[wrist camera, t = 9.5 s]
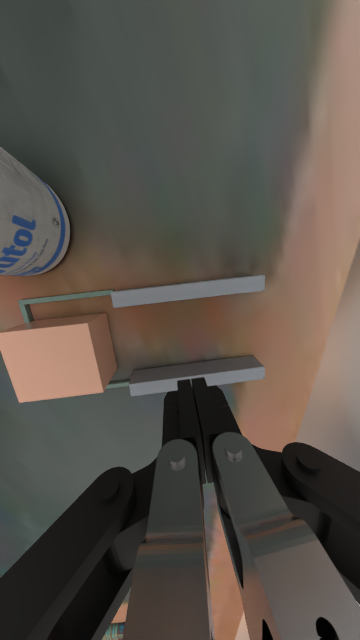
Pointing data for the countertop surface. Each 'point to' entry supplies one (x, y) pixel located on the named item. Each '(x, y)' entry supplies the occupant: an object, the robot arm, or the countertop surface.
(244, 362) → the chute
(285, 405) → the countertop surface
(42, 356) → the block
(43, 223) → the supplement tub
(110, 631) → the dish towel
